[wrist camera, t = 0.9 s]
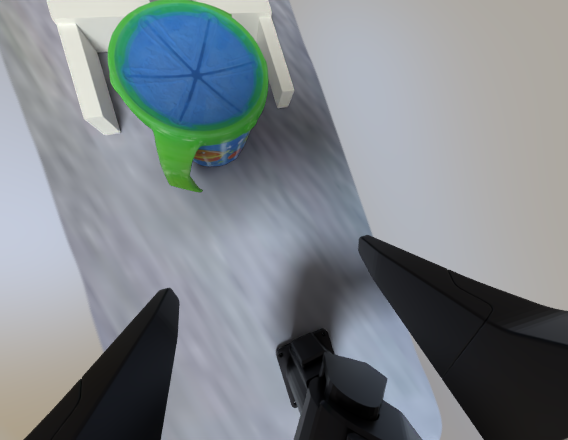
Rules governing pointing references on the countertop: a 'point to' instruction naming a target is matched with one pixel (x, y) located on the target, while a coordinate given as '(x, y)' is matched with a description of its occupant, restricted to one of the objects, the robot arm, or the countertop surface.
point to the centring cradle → (104, 19)
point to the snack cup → (189, 82)
